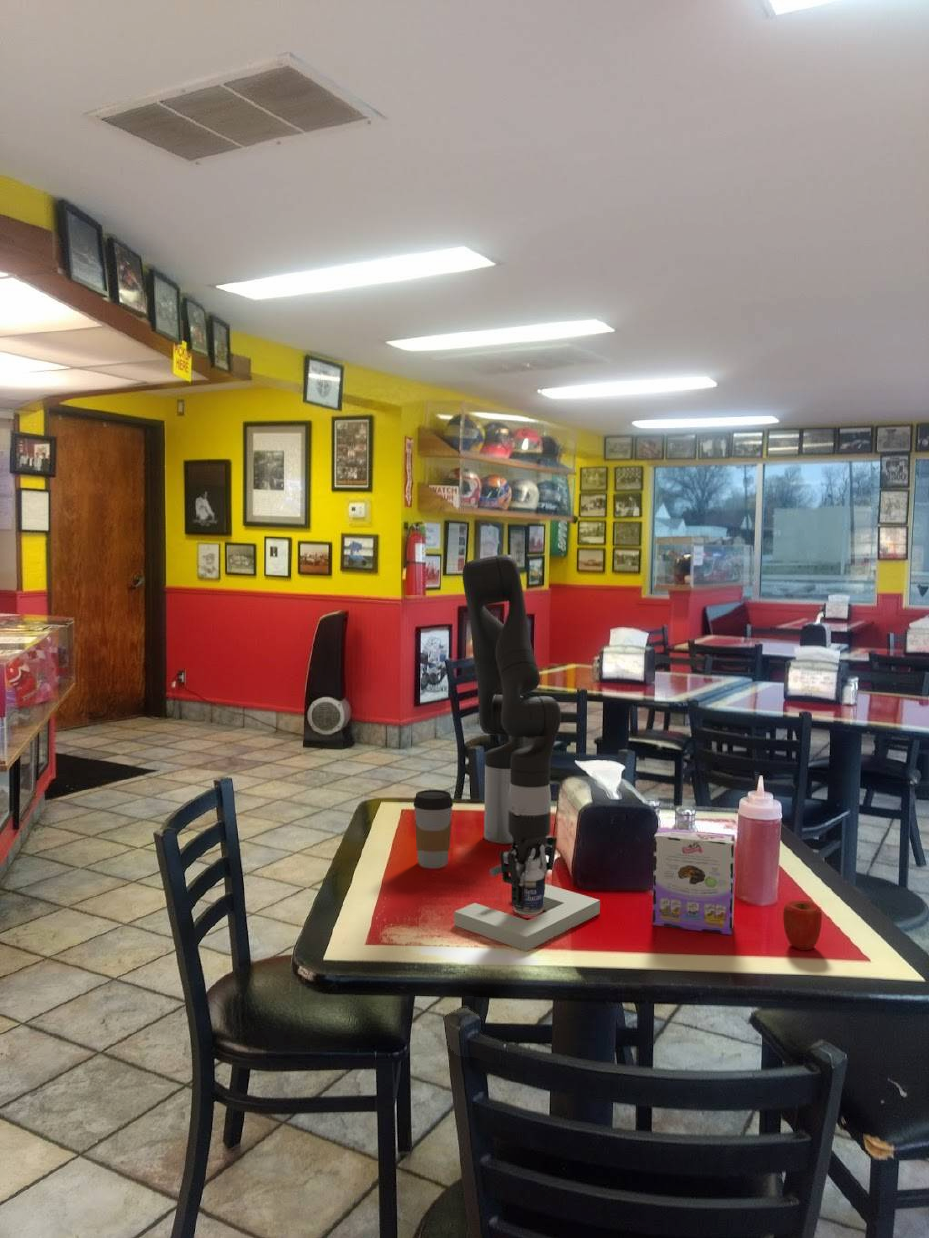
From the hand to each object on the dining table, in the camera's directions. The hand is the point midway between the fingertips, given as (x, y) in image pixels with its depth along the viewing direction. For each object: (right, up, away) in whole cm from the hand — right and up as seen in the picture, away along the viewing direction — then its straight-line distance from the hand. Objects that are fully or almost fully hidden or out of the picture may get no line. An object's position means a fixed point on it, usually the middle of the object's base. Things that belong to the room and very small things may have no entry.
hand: (528, 899), depth 168 cm
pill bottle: (0, -2, 0) cm, 2 cm away
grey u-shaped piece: (0, -4, 0) cm, 4 cm away
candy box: (+29, -4, -1) cm, 30 cm away
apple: (+45, -5, -10) cm, 47 cm away
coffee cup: (-18, -1, +29) cm, 35 cm away
